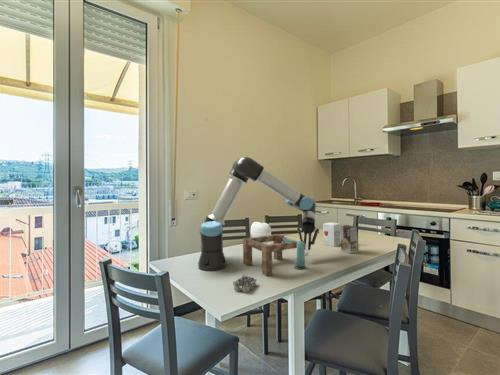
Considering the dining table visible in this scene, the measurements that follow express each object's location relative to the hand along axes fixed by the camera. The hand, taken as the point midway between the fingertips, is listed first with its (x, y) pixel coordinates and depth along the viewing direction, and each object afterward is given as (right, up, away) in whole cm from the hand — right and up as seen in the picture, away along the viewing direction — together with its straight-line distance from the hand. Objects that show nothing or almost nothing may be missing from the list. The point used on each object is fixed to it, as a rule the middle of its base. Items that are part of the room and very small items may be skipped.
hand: (306, 254), depth 152 cm
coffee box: (+32, -4, +22) cm, 39 cm away
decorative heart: (-24, -4, +40) cm, 46 cm away
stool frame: (-18, -5, -5) cm, 19 cm away
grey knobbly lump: (-33, -6, -34) cm, 48 cm away
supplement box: (+26, -3, +42) cm, 50 cm away
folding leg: (-8, -4, -3) cm, 9 cm away
